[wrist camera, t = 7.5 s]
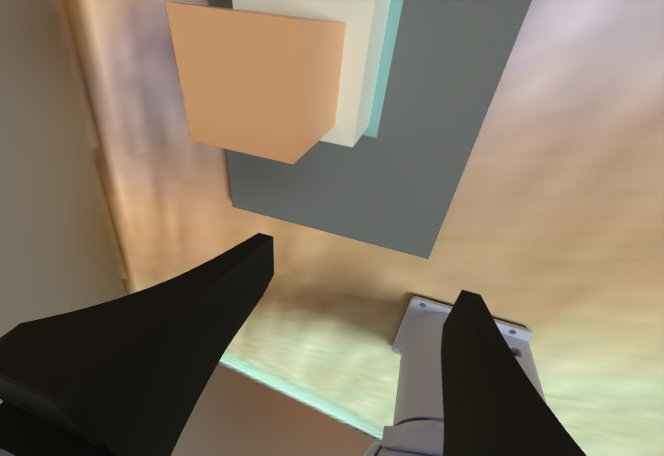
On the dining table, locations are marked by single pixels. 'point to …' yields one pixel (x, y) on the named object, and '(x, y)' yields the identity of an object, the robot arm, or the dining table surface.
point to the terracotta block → (257, 78)
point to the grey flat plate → (396, 131)
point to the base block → (344, 54)
